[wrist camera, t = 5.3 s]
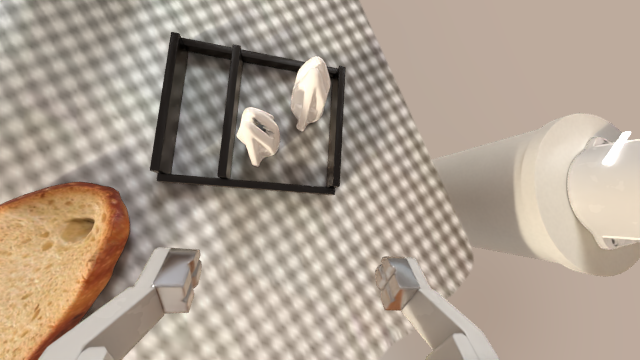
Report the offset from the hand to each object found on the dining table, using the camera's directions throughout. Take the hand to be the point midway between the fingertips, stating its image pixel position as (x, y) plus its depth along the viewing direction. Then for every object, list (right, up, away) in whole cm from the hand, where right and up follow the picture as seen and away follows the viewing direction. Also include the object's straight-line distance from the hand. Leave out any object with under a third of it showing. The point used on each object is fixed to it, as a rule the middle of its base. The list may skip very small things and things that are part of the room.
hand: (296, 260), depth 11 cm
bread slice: (-25, -7, +11) cm, 28 cm away
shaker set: (-3, +10, +18) cm, 21 cm away
